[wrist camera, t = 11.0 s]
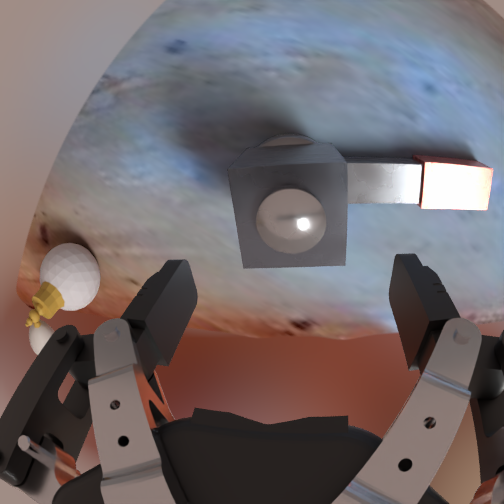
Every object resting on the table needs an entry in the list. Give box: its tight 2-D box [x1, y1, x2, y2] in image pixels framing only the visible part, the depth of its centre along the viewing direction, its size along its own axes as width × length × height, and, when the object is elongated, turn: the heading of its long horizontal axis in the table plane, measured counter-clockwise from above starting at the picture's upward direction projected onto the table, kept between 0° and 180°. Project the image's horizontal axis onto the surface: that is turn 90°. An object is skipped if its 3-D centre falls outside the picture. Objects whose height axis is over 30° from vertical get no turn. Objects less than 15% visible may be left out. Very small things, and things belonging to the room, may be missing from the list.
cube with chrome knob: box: [227, 143, 348, 268], centre depth 16 cm, size 6×6×6 cm
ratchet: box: [258, 133, 493, 210], centre depth 17 cm, size 20×7×6 cm, turn 97°
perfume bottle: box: [25, 243, 100, 355], centre depth 24 cm, size 8×10×12 cm
